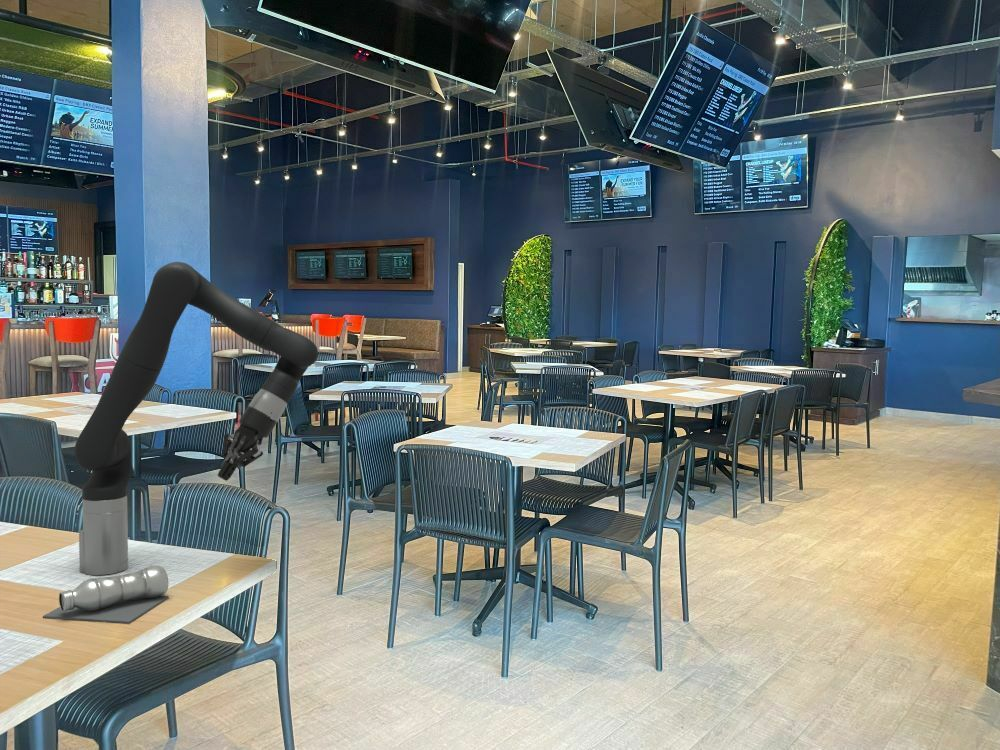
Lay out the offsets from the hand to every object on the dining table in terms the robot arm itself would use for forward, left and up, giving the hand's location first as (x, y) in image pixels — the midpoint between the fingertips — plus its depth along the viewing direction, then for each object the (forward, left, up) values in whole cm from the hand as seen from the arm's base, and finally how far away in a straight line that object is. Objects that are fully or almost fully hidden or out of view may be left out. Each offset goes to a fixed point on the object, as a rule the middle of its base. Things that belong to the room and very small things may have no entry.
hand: (222, 478), depth 175 cm
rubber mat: (-14, -22, -23) cm, 34 cm away
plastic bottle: (-6, -13, -19) cm, 24 cm away
